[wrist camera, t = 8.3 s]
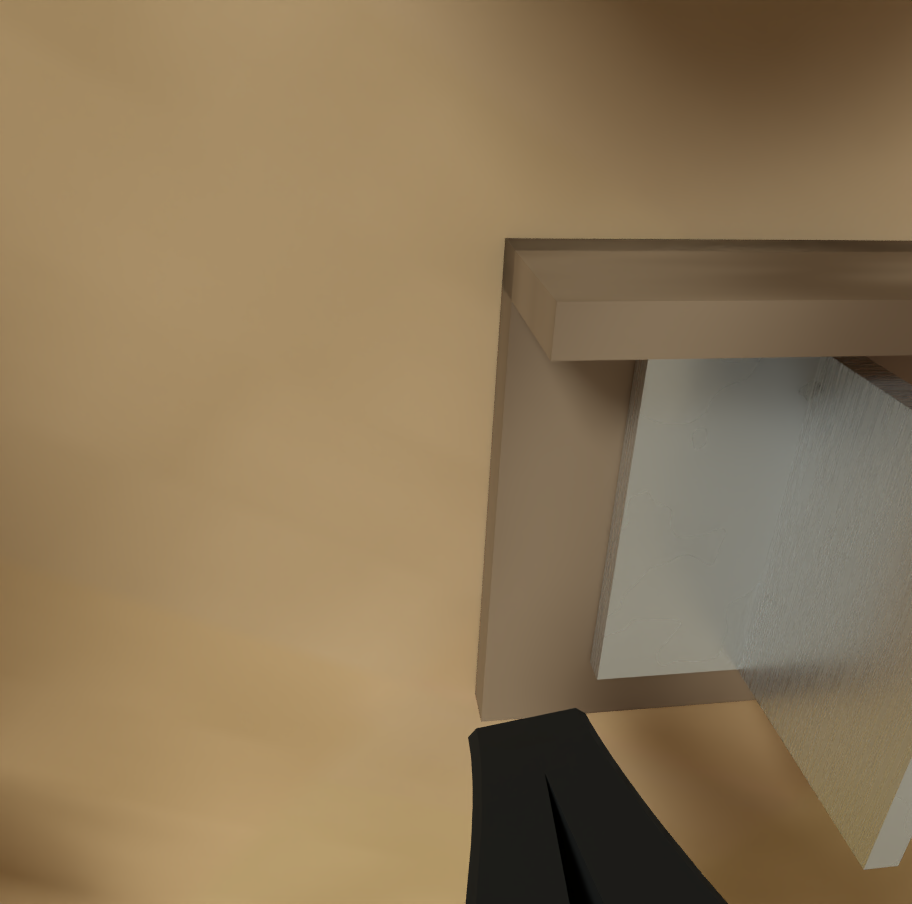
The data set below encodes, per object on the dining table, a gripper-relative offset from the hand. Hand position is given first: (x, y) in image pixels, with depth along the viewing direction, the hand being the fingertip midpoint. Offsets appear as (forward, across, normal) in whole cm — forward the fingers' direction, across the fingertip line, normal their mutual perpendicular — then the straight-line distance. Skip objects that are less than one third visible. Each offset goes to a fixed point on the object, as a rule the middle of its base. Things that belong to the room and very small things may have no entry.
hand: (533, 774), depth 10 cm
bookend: (+5, -5, +1) cm, 7 cm away
